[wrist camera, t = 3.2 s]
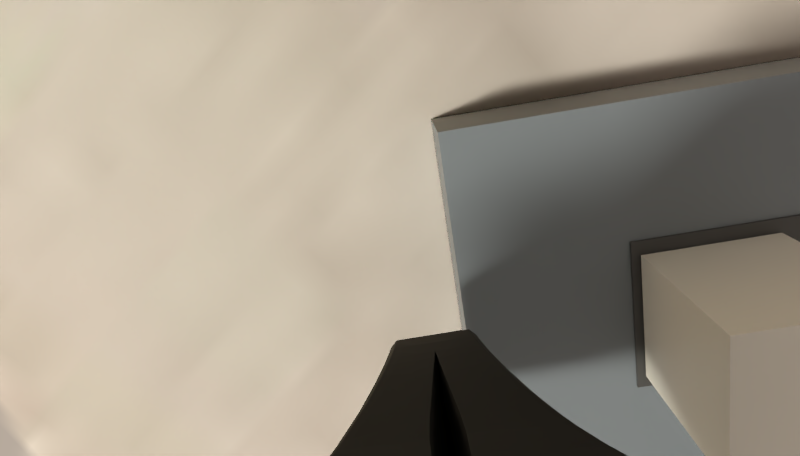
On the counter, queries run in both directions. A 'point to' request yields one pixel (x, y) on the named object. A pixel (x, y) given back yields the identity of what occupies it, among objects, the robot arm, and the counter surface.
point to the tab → (727, 342)
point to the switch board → (609, 226)
